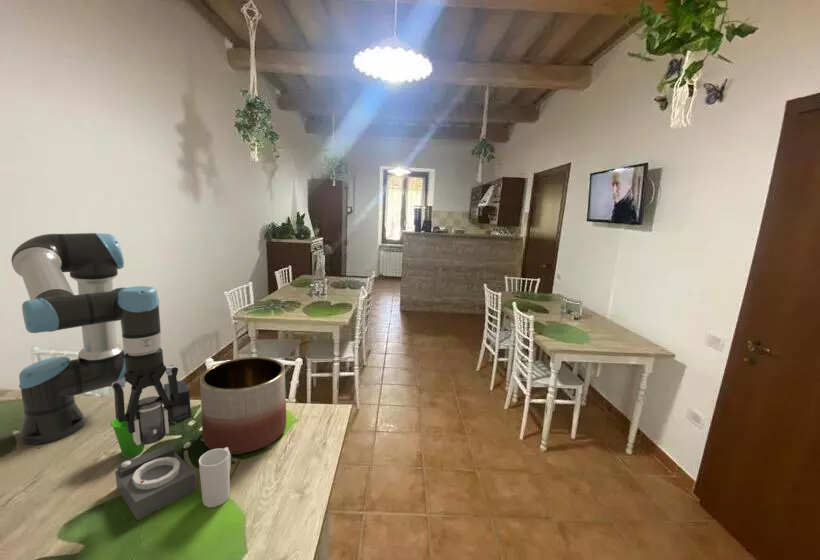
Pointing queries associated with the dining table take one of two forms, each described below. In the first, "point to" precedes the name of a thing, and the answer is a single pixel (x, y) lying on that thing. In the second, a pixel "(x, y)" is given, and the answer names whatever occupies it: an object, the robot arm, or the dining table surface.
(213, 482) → the mug
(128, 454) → the cup
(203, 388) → the planter
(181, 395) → the small box
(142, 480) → the camera body
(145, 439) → the lens
